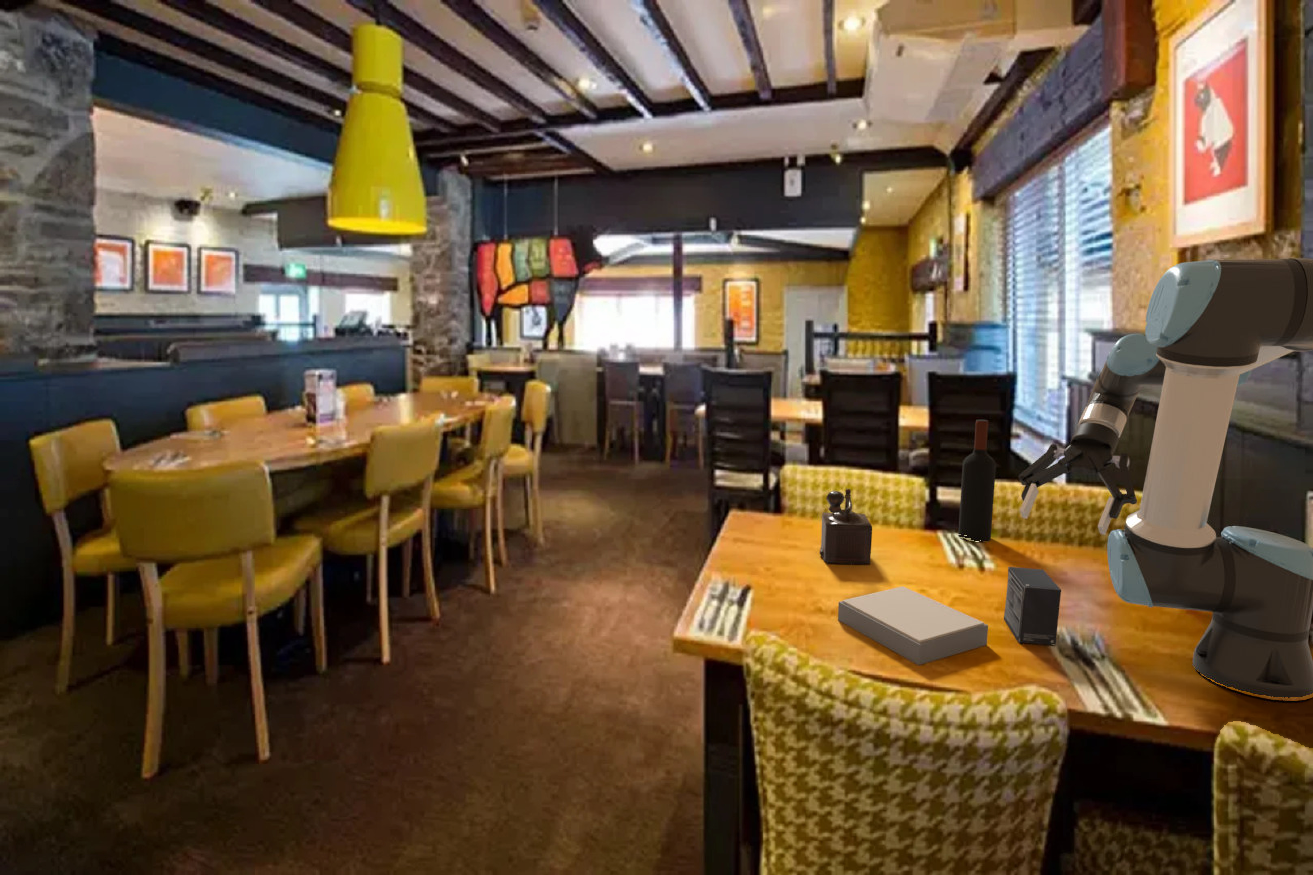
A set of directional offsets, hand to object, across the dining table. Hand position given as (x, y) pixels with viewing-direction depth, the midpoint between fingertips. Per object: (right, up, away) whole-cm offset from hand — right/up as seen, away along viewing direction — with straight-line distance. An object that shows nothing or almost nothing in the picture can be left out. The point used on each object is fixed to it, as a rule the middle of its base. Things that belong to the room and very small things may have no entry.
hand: (1060, 522), depth 137 cm
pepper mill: (-31, -13, +34) cm, 48 cm away
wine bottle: (+5, -10, +49) cm, 51 cm away
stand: (-29, -19, -4) cm, 35 cm away
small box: (-8, -19, -4) cm, 21 cm away
